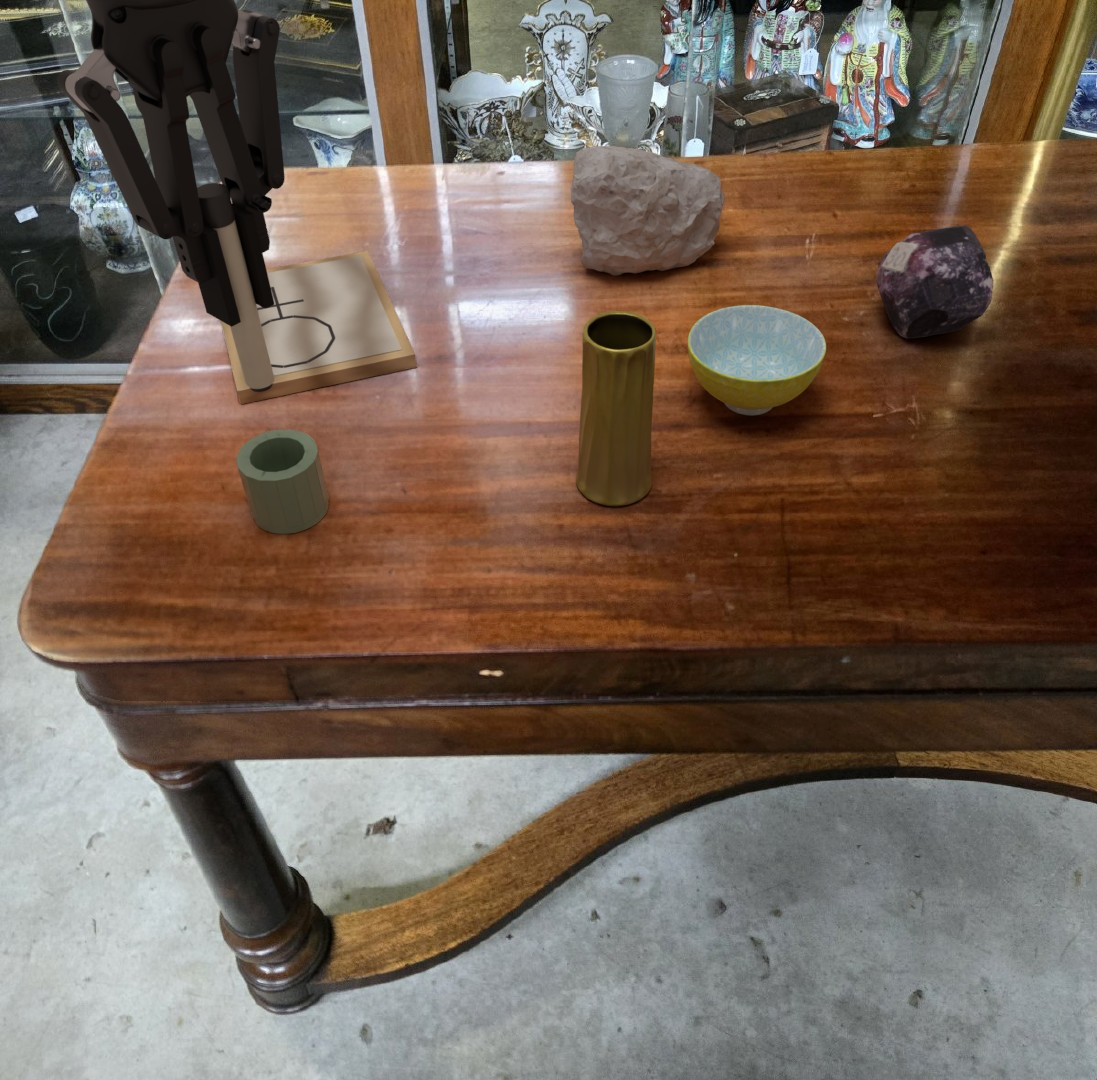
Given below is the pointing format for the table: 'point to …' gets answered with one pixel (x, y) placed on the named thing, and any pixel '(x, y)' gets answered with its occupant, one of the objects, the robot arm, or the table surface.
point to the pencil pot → (283, 481)
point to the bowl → (755, 356)
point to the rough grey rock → (642, 209)
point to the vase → (616, 408)
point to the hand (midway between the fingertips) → (240, 307)
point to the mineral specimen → (935, 282)
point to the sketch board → (326, 327)
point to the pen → (238, 287)
